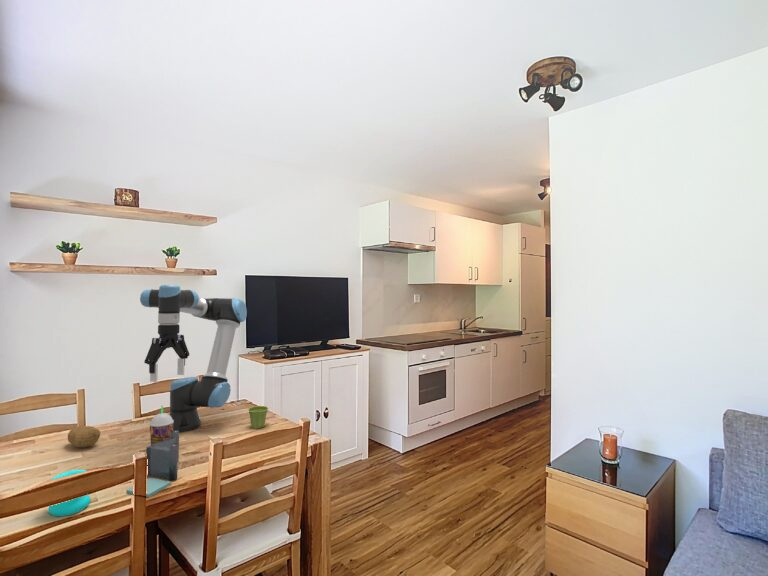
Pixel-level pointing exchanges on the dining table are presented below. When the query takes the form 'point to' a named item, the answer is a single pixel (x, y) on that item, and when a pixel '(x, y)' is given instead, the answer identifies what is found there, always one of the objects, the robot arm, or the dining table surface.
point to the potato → (83, 436)
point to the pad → (153, 486)
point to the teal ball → (71, 505)
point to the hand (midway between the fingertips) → (167, 378)
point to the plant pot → (258, 416)
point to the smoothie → (160, 427)
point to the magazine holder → (164, 457)
